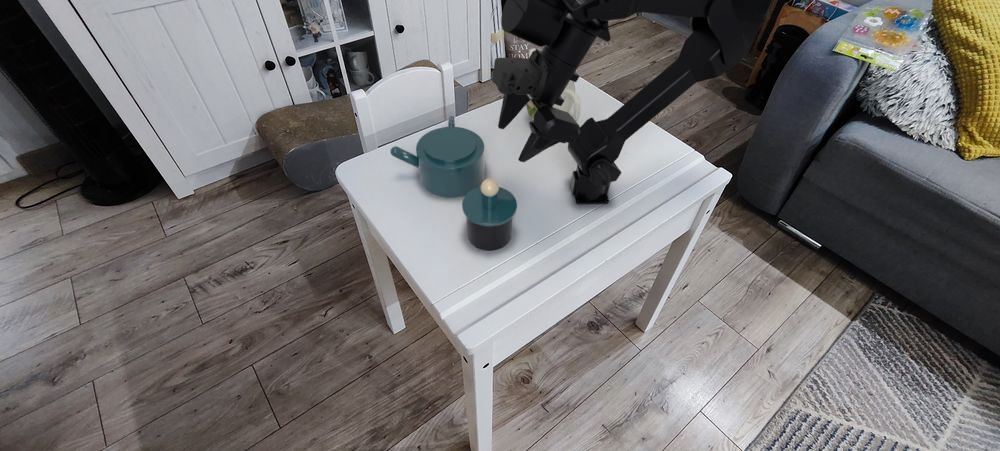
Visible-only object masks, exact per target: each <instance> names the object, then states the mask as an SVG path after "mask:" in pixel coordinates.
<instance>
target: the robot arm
mask: <svg viewBox="0 0 1000 451" xmlns="http://www.w3.org/2000/svg"><path fill="white" fill-rule="evenodd" d="M635 14H653V15H663V16H675V17H688V18H689V26H690V29H691V32H692V33H690V35H689V36H688V37H687V38H686V39H685V40H684V42H683V44H682V47H681V49H680V51H679V54H678V56H677V58H676V59H675V60H674V62H672V63H671V64H670V65H669V66H668V67H666V68H665V69H664V70H662V72H660V73H659V74H658V75H657V76H655V78H653V79H652V80H651V81H650V82H648V83H647V84H646V85H645V86H644V87H643V88H642V89H641V90H639V91H638V92H637V93H636V94H635V95H633V96H632V97H631V98H630V99H629V100H627V102H625V103H624V104H623V105H622V106H620V107H619V108H618V109H617V110H616V111H615V112H613V113H612V114H611V115H610V116H608V117H607V118H604V119H601V120H597V121H596V120H595V118H594V117H589V118H588V119H586V120H585V121H584V122H583V124H582V125H580V124H579V123H578V121H577V122H576V121H575V120H574V118H573V115H571V113H570V112H569V113H568V112H565V111H562V110H559V109H556V108H553V105H554V104H556V105H559V106H562V104H563V102H564V101H565V100H564V99H563V98H562V97H561V94H562V93H563V91H564V90H565V88H566V86H567V85H568V83H569V81H570V80H571V81H574V83H577V81H578V80H579V78H580V75H579V74H578V73H576V70H577V71H578V68H579V67H580V65H581V64H582V62H583V60H584V59H585V57H586V55H587V53H588V52H589V51H590V49H591V47H592V46H593V44H594V42H595V40H596V39H597V38H599V40H600V39H601V40H603V41H605V42H607V43H608V42H610V41H611V40H612V37H611V33H610V31H609V30H610V29H609V23H610V21H619V20H627V19H628V18H630V17H631V16H634V15H635ZM500 25H501V29H502V31H503V32H505V33H507V34H510V35H512V36H515V37H516V38H518V39H521V40H523V41H525V42H528V43H530V44H533V45H534V46H536V47H540V48H541V47H542V49H540V50H538V49H539V48H535V49H536V50H535V51H533V52H532V54H531V56H530V55H529V57H528V58H524V57H518V56H517V57H496V58H495V59H494V63H493V70H492V77H491V82H492V83H494V84H495V86H496V87H497V91H498V92H499V93H501V94H502V95H503V97H502V104H501V109H500V112H499V118H498V124H497V128H498V129H500V130H504V129H506V128H507V127H508V126H509V125H510V124H511V123H512V122H513V120H514V119H515V118H516V117H517V116H518V115H519V113H520V112H521V111H522V110H523V109H524V108H525V107H526V104H527V103H528V102H529V101H530V100H531V101H532V102H533V104H534V105H535V106H536V108H537V111H536V113H535V114H534V121H533V120H532V121H529V122H528V124H529V128H530V134H529V136H528V138H527V140H526V142H525V144H524V146H523V147H522V149H521V152H520V154H519V157H518V162H521V163H525V162H528V161H529V160H531V159H533V158H534V157H536V156H537V155H539V154H540V153H542V152H543V151H546V150H548V149H549V148H551V147H554V146H555V145H557V144H559V143H561V144H566V143H567V151H568V152H569V155H570V156H571V157H572V158H573V160H574V162H575V164H576V168H575V170H573V171H572V175H571V179H570V185H569V187H570V192H571V195H572V196H573V198H574V203H575V204H576V205H608V204H609V203H610V198H609V195H608V194H609V190H610V187H611V183H614V182H616V181H618V180H619V178H620V176H621V174H622V171H621V169H620V168H619V167H618V165H617V164H616V161H617V159H618V158H619V157H620V154H621V152H622V150H623V147H624V146H625V143H626V141H627V140H628V139H630V138H631V137H632V136H634V135H635V134H636V133H637V132H638V131H639V130H640V129H641V128H643V127H644V126H645V125H646V124H648V123H649V122H650V121H652V120H653V119H654V118H655V117H656V116H657V115H659V114H660V113H661V112H662V111H664V110H665V109H666V108H667V107H668V106H669V105H671V104H672V103H673V102H675V101H676V100H677V99H678V98H679V97H681V96H682V95H683V94H684V93H685V92H687V91H688V90H689V89H690V88H692V87H693V86H694V85H695V84H697V83H700V82H705V81H708V80H712V79H716V78H718V77H720V76H722V75H724V74H725V73H726V72H728V71H729V70H731V69H732V68H734V67H735V66H737V65H739V63H740V62H742V60H743V59H744V58H745V56H746V53H747V49H748V45H749V42H748V38H747V37H746V35H745V34H744V30H743V27H742V25H741V24H740V22H739V19H738V17H737V16H736V13H735V11H734V9H733V4H732V0H506V1H505V4H504V6H503V9H502V12H501V19H500ZM541 50H542V51H541Z"/></svg>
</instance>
